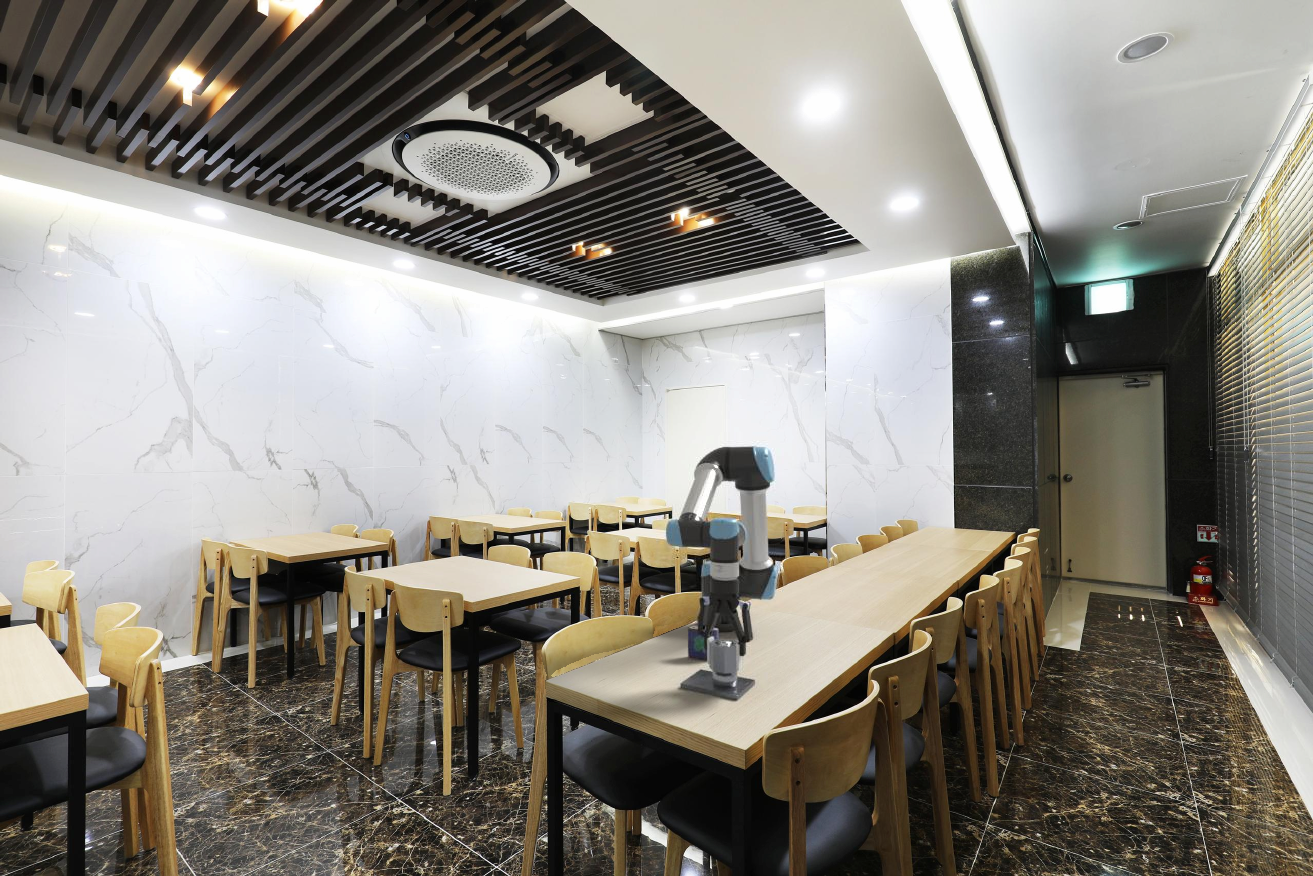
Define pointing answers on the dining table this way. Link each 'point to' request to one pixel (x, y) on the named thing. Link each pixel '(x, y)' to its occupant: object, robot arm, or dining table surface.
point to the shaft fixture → (718, 682)
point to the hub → (722, 656)
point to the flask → (698, 643)
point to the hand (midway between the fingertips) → (724, 665)
